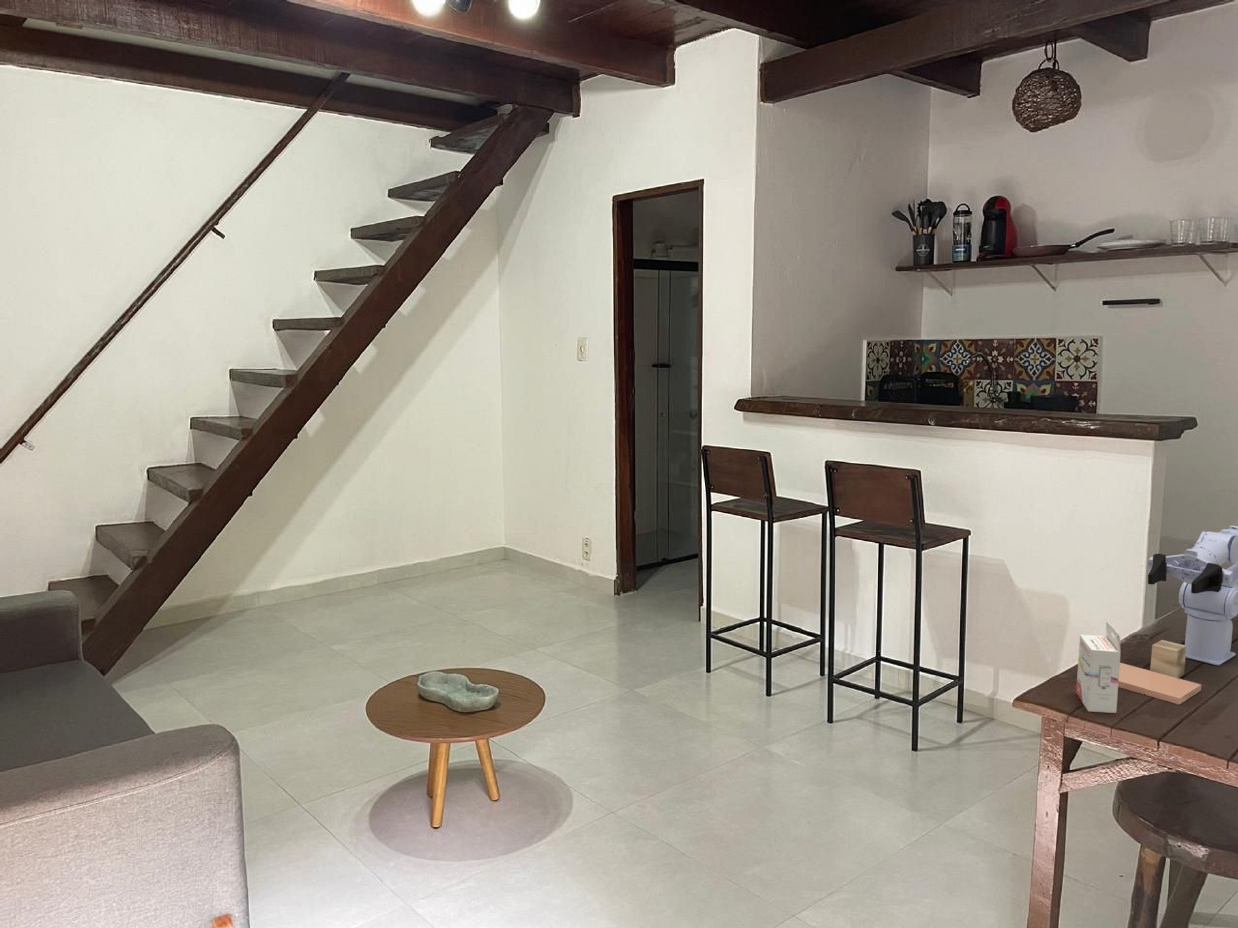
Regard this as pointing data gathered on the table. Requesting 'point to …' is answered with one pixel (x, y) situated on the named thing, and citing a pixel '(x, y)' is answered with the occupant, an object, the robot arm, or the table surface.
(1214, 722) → the table surface
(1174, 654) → the maple block
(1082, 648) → the ink cartridge box
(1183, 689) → the terracotta tile
